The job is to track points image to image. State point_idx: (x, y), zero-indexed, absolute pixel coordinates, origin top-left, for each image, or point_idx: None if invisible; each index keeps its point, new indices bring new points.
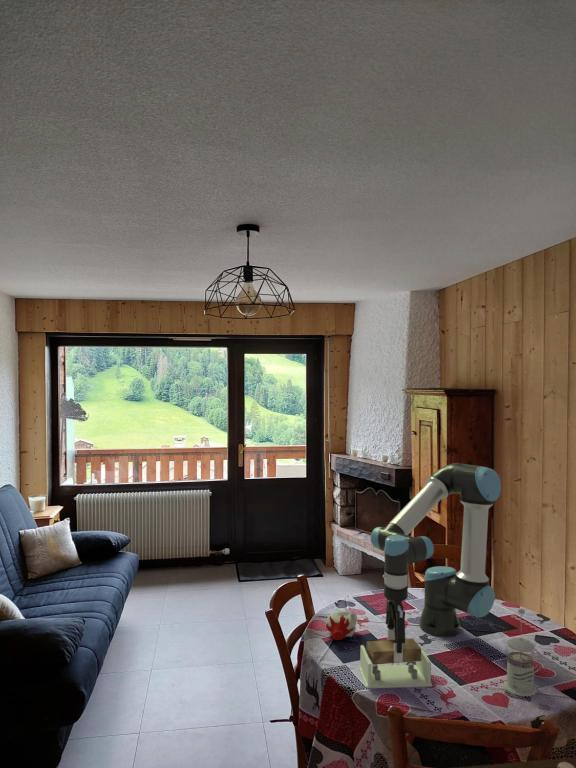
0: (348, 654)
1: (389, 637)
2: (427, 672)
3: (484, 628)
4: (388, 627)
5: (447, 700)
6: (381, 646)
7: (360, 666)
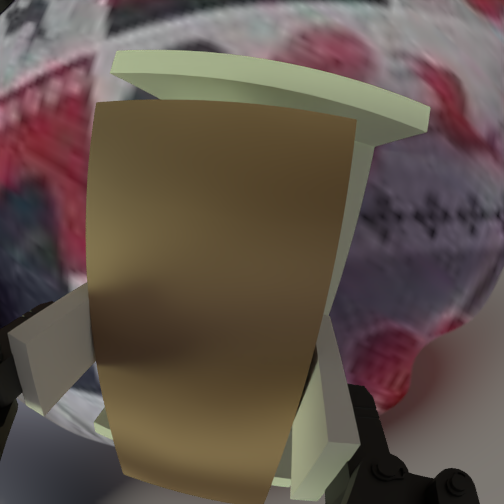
0: None
1: (80, 366)
2: (391, 138)
3: None
4: (15, 413)
5: (479, 134)
6: (198, 457)
7: None
